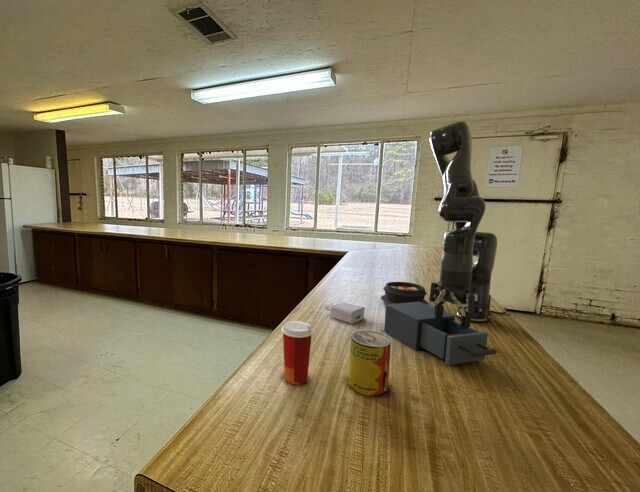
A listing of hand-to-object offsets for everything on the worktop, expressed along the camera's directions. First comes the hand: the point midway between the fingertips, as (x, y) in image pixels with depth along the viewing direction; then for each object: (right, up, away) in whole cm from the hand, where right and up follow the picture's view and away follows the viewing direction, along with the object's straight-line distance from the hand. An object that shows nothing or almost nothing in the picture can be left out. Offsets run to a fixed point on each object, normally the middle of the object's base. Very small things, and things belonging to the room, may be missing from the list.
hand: (450, 322), depth 92 cm
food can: (-29, -12, -14) cm, 35 cm away
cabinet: (-3, -8, +13) cm, 16 cm away
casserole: (+9, -4, +47) cm, 48 cm away
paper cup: (-47, -12, -11) cm, 49 cm away
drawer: (0, -9, -1) cm, 9 cm away
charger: (-22, -5, +33) cm, 40 cm away
